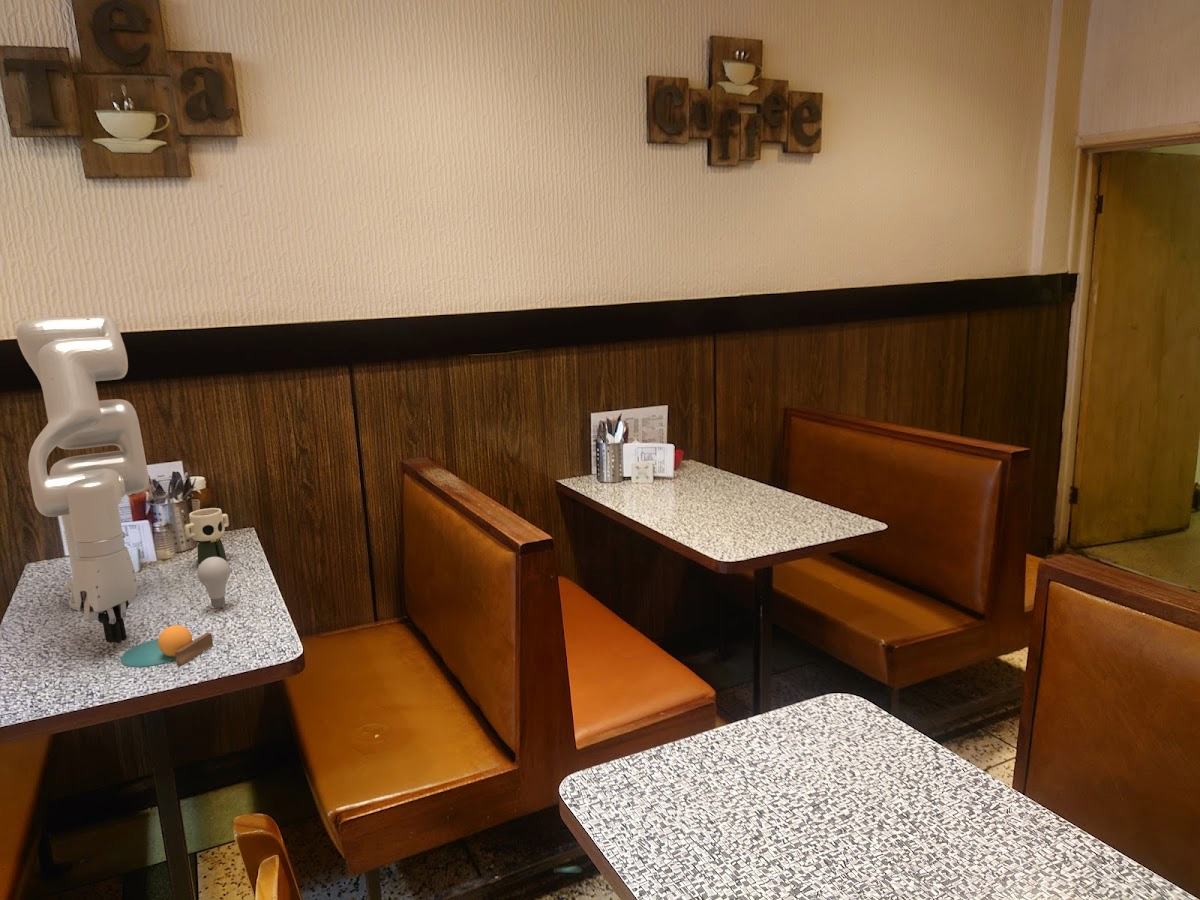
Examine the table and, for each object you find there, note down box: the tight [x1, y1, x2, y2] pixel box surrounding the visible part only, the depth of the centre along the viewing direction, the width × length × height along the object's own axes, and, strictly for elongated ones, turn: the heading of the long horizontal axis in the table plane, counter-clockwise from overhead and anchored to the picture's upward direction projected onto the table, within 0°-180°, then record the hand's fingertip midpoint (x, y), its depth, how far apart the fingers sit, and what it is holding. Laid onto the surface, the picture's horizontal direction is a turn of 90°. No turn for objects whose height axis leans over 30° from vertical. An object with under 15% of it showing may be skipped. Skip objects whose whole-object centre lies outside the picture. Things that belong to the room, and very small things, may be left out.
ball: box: [157, 624, 193, 657], centre depth 149 cm, size 6×6×6 cm
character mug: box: [184, 507, 230, 565], centre depth 198 cm, size 11×7×13 cm, turn 147°
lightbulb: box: [196, 557, 231, 610], centre depth 170 cm, size 6×6×11 cm
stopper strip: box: [175, 632, 214, 666], centre depth 149 cm, size 1×8×2 cm, turn 166°
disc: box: [120, 638, 194, 668], centre depth 151 cm, size 12×12×1 cm
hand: (116, 640), depth 153 cm, fingers closed
